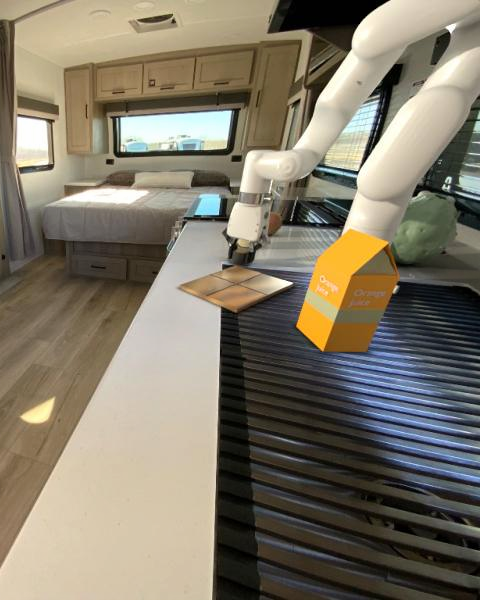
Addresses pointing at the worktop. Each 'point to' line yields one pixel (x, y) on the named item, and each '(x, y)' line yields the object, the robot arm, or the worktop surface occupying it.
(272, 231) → the onion
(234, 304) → the grid board
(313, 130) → the robot arm
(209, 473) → the worktop surface
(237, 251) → the black ridged cylinder
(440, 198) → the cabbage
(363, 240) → the orange juice
